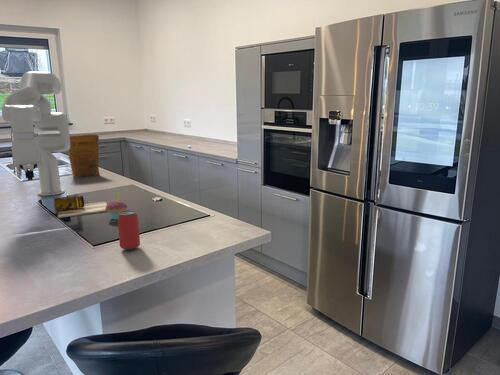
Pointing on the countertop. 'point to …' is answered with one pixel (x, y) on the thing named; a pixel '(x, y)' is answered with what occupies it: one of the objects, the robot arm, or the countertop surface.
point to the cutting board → (84, 210)
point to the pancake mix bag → (84, 155)
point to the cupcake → (116, 208)
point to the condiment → (68, 203)
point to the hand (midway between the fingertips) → (30, 179)
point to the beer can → (128, 229)
